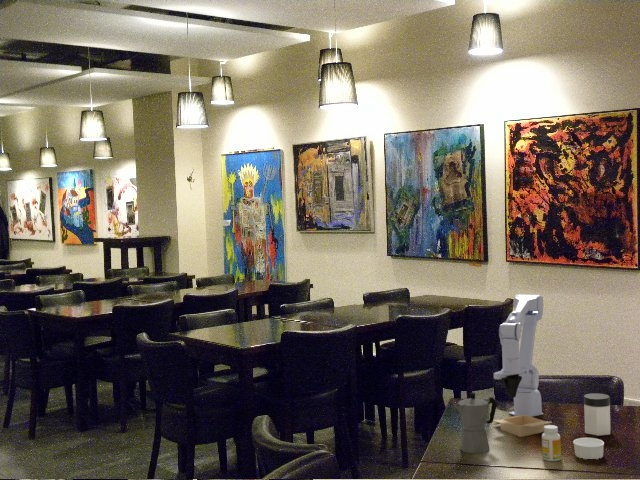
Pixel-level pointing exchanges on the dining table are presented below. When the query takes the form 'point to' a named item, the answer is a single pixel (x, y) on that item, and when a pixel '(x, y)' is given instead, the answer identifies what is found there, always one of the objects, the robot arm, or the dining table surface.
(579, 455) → the ramekin
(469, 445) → the coffeepot
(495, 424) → the flap
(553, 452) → the supplement bottle
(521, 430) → the carton
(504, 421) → the flap
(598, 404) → the jar
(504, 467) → the dining table surface
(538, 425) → the flap
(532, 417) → the flap
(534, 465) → the dining table surface
